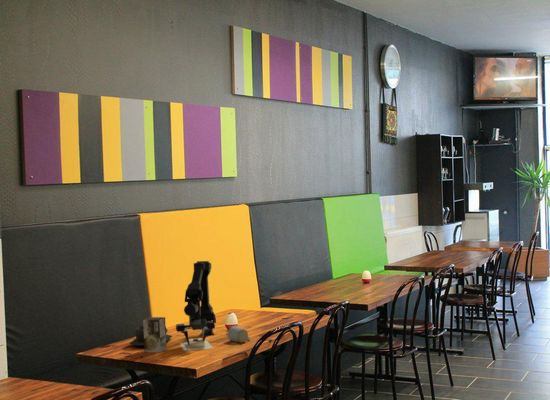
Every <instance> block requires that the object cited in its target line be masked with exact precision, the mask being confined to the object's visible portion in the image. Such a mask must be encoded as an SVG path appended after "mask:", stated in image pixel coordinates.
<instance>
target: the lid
mask: <svg viewBox="0 0 550 400" xmlns="http://www.w3.org/2000/svg"><path fill="white" fill-rule="evenodd" d="M187 344H188V343H187ZM189 347H190V348H202V347H205V342H204V341H203V337H197V338H189Z"/></svg>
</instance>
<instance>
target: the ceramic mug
mask: <svg viewBox="0 0 550 400" xmlns="http://www.w3.org/2000/svg"><path fill="white" fill-rule="evenodd" d="M227 338H228V340H230V342H235V343H238V344H242V343H246V341H250V340H251V336H249V333H248V331H247V330H246V328H243V327H240V326H236V325H233V326H230V328H229V329H228V332H227Z"/></svg>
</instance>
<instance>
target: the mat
mask: <svg viewBox="0 0 550 400" xmlns="http://www.w3.org/2000/svg"><path fill="white" fill-rule="evenodd" d="M204 342H205V347H202V348H190V347H189V345H188V344H187V341H186V342H179V344H180V346H181V348H182V349H183V351H184V352H185V351H196V350H208V349H214V347H213V346H212V345H211V343H209V341H208V340H205V341H204Z"/></svg>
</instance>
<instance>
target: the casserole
mask: <svg viewBox="0 0 550 400" xmlns="http://www.w3.org/2000/svg"><path fill="white" fill-rule="evenodd" d="M165 327H166V342H168V341H169V340H170V339H171V338H173V336H172V334H167V333H168V331H169V330H168V328H167V326H166V325H165ZM133 334H135V338H134V339H133V340H132V341H130V342H129V344H130V346H131V345H132V346H138V347H139V346H141V347H142V346H144V327H143V325H140V326H138V327H137V326H136V328H135V330H134V332H133Z"/></svg>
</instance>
